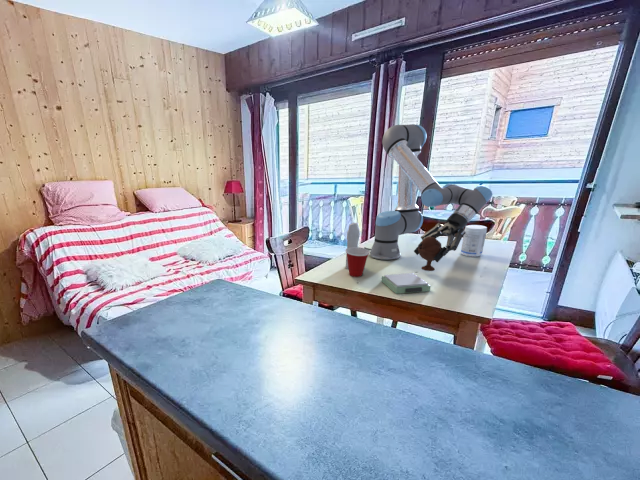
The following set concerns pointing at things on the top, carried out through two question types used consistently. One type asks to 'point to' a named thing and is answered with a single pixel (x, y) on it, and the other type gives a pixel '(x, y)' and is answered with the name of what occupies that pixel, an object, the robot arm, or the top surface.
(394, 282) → the scale
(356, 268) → the plastic cup
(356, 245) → the tall pale column
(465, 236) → the supplement tub
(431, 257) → the ice cream bowl
